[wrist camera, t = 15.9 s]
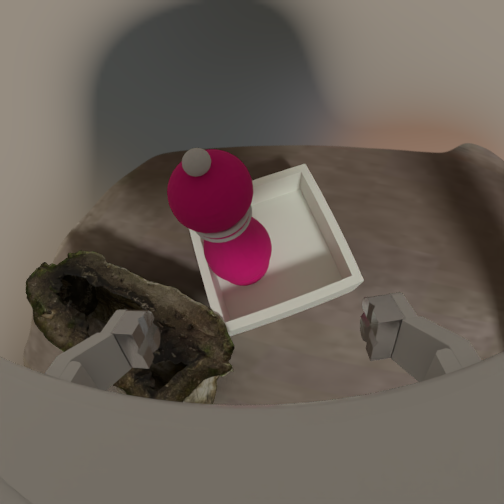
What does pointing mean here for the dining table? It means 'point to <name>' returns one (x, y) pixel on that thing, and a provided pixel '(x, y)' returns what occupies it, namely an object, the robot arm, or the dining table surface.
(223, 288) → the tray
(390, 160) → the dining table surface
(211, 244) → the pepper mill
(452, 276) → the dining table surface
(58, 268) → the hollow geode rock
